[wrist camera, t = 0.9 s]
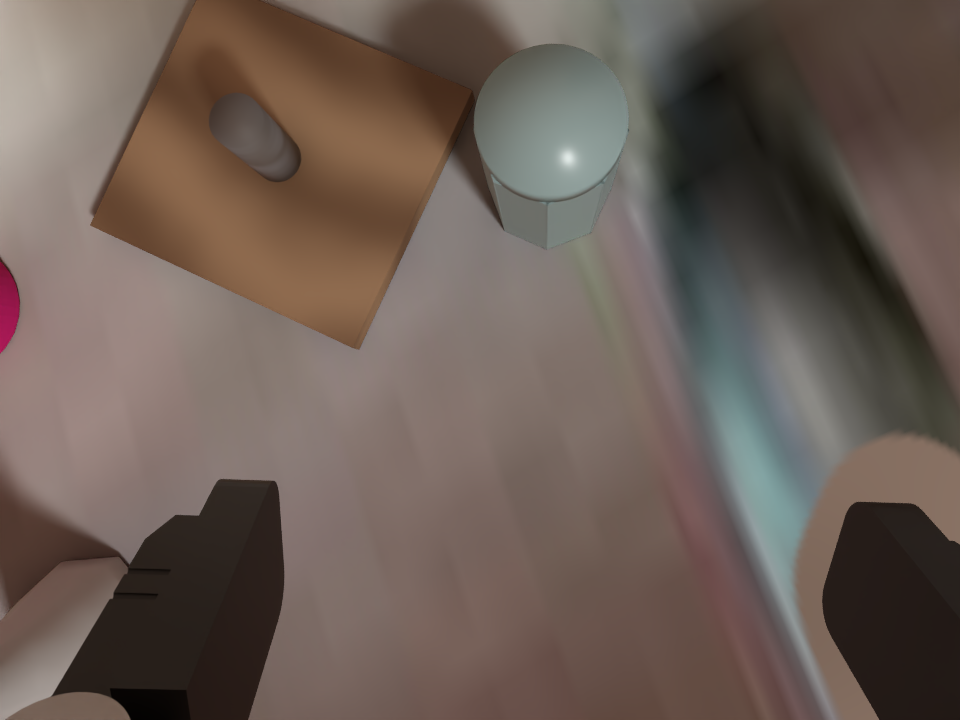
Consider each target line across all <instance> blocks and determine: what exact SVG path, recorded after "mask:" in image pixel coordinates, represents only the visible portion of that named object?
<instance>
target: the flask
mask: <svg viewBox="0 0 960 720" xmlns="http://www.w3.org/2000/svg"><path fill="white" fill-rule="evenodd" d="M127 573H128V567H127V566H126V565H125V564H124V562H123V561H122V560H121V559H120V557H109V558H97V559H85V560H73V561H61V562H60V563H59V564H58V565H57V566H56V567H55V568H54V569H53V570H52V571H51V572H50V573H48V574H47V575H46V576H45V577H44V578H43V579H42V580H41V581H40V582H39V583H38V584H37V585H35V586H34V587H33V588H32V589H31V590H30V591H29V592H28V593H27V594H26V595H25V596H24V597H22V598H21V599H20V600H19V601H18V602H17V603H16V604H15V605H14V606H13V607H12V608H11V610H10V611H9V612H8V613H7V614H6V615H5V617H4V618H3V619H2V620H1V621H0V720H5V719H7V718H8V717H9V716H11V715H13V714H14V713H16V712H17V711H19V710H21V709H23V708H25V707H27V706H29V705H31V704H33V703H35V702H38V701H40V700H43V699H46V698H48V697H51V696H52V694H53V693H54V691H55V690H56V688H57V686H58V684H59V683H60V681H61V679H62V678H63V676H64V674H65V673H66V671H67V669H68V668H69V666H70V664H71V663H72V661H73V659H74V658H75V656H76V654H77V653H78V651H79V649H80V648H81V646H82V644H83V643H84V641H85V639H86V638H87V636H88V634H89V632H90V631H91V629H92V627H93V626H94V624H95V622H96V621H97V619H98V617H99V616H100V614H101V612H102V611H103V609H104V607H105V606H106V604H107V602H108V601H109V599H112V598H113V592H114V591H115V589H116V587H117V586H118V584H119V582H120V580H121V579H122V577H123V575H124V574H127Z"/></svg>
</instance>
